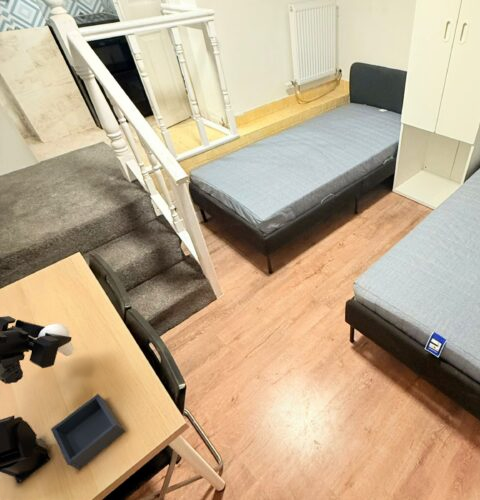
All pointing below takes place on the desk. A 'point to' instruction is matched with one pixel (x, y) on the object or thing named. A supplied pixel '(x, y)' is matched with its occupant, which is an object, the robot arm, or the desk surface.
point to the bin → (87, 432)
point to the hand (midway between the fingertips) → (62, 335)
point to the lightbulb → (59, 330)
